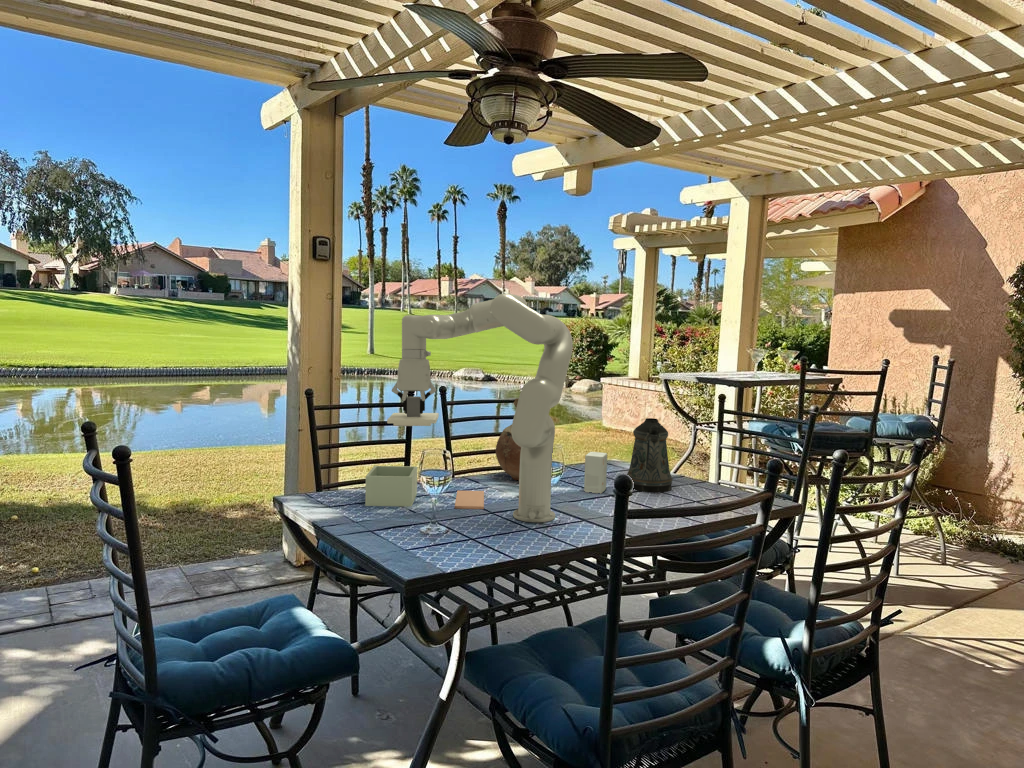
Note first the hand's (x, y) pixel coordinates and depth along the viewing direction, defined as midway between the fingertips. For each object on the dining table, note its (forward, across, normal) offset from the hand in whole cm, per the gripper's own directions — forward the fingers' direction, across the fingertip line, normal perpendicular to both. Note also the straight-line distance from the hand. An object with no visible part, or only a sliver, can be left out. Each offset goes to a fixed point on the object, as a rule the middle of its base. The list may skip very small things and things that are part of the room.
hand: (414, 412), depth 214 cm
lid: (+3, 0, 0) cm, 3 cm away
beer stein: (+30, -82, -24) cm, 91 cm away
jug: (+29, -38, -36) cm, 60 cm away
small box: (+30, -62, -19) cm, 71 cm away
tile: (+29, -13, -3) cm, 32 cm away
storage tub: (+28, +7, +1) cm, 29 cm away
